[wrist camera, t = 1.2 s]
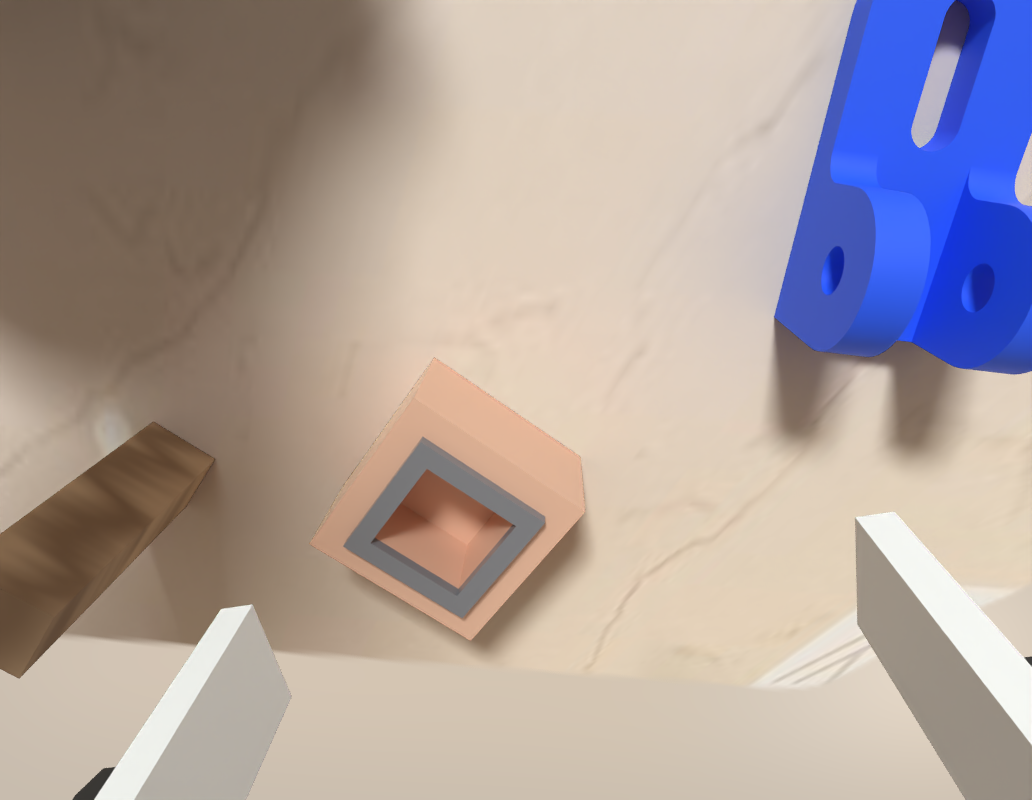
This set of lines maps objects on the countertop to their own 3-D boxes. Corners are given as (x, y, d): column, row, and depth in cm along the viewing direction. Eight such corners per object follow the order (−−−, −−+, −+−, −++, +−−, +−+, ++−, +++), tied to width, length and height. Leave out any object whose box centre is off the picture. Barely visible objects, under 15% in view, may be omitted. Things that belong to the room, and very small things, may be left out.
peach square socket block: (342, 486, 40) (304, 550, 34) (434, 357, 37) (411, 402, 31) (481, 573, 42) (469, 648, 36) (580, 457, 39) (585, 518, 33)
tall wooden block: (126, 470, 41) (-74, 630, 28) (153, 421, 39) (-43, 565, 26) (186, 506, 41) (19, 678, 28) (215, 459, 40) (53, 616, 27)
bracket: (931, 335, 36) (1048, 398, 27) (773, 316, 36) (841, 373, 27) (1074, -72, 29) (1286, -154, 21) (878, -95, 29) (1011, -186, 21)
